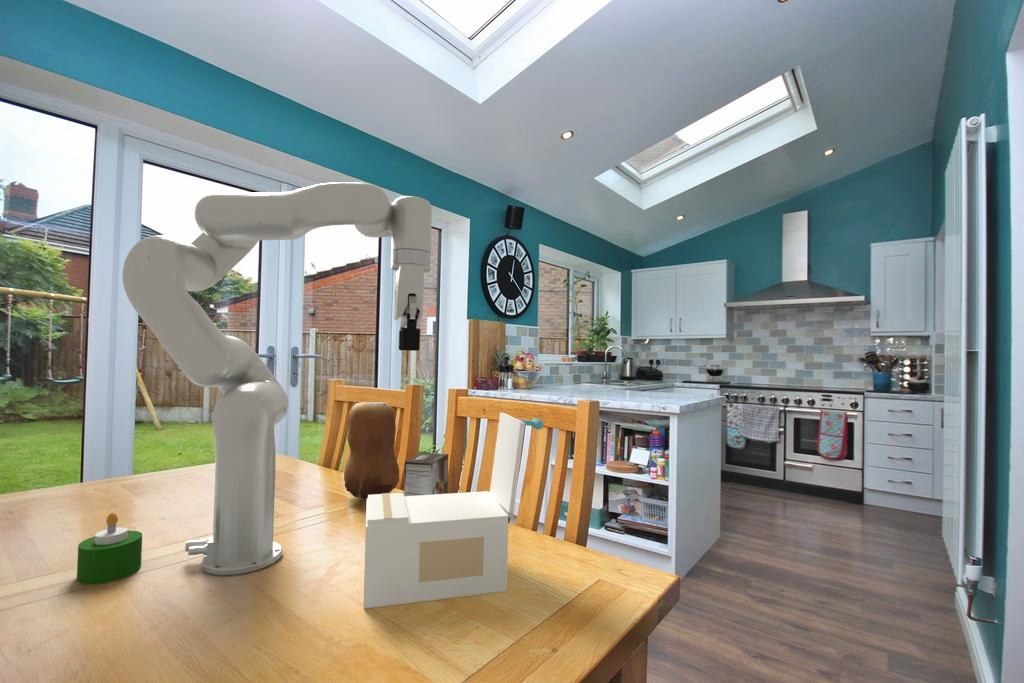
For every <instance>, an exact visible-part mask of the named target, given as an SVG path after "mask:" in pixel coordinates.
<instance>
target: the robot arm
mask: <svg viewBox="0 0 1024 683" xmlns="http://www.w3.org/2000/svg"><path fill="white" fill-rule="evenodd" d="M432 208H433V207H432V204H431V203H430V202H429V200H427V199H425V198H423V197H419V196H413V195H405V196H404V195H403V196H399V197H398V198H396V199H395V200H394V201H393V202H391V201H390V198H389V197H388V195H387V194H386V192H385V191H384V190H383V189H382V188H380V187H379V186H378V185H375V184H373V183H366V182H355V181H354V182H325V183H324V182H323V183H319V184H313V185H310V186H307V187H301V188H298V189H295V190H292V191H281V192H275V191H274V192H273V191H272V192H270V191H269V192H223V193H222V192H219V193H218V192H217V193H211V194H207V195H205V196H203V197H201V198H200V199H199V200H198V201H197V202H196V204H195V207H194V219H195V222H196V224H197V226H198V228H199V229H200V231H201V232H202V233H201V234H200V235H199V236H198V237H197V238H195V239H194V240H193V241H192V242H191V243H189V242H187V241H186V240H183V239H182V238H178V237H174V236H170V235H161V234H160V235H158V234H157V235H150V236H147V237H145V238H142V239H140V240H139V241H137V242H136V243H135V244H134V245H133V246H132V248H131V249H130V250H129V252H128V254H127V256H126V257H125V260H124V263H123V267H122V285H123V289H124V292H125V294H126V297H127V298H128V301H129V303H130V304H131V306H132V307H133V310H135V312H136V313H137V315H138V316H139V317H140V318H141V319H142V321H143V322H144V323H145V324H146V326H148V328H149V329H150V331H151V332H152V333H153V334H154V336H155V337H156V339H157V340H158V342H159V343H160V344H161V346H162V347H163V348H164V350H165V351H166V352H167V353H168V354H169V356H170V357H171V359H172V360H173V361H174V363H175V364H176V365H177V366H178V368H179V369H180V370H181V372H183V374H184V375H185V376H186V377H185V378H187V379H188V381H190V382H192V384H194V385H196V386H199V387H201V388H218V389H219V391H220V393H221V394H222V395H221V396H220V397H219V398H218V400H217V401H216V403H215V406H214V408H213V411H212V429H213V430H212V431H213V437H214V451H215V454H214V456H215V457H214V459H215V460H214V462H215V463H214V465H215V467H214V492H213V493H214V497H213V503H214V504H213V525H212V526H213V527H212V528H213V529H212V536H208V537H207V538H206V539H205V538H204V539H200V538H199V539H197V538H196V539H188V540H187V541H186V542H185V545H184V546H185V547H184V551H185V552H187V554H188V556H197V555H203V558H202V559H201V564H200V565H201V569H202V570H203V571H204V572H205V573H208V574H210V575H216V576H232V575H241V574H247V573H251V572H252V573H253V572H255V571H258V570H261V569H264V568H266V567H269V566H270V565H273V564H274V563H276V562H277V561H278V560H279V559H281V557H282V555H283V547H282V545H281V544H280V543H278V542H277V541H274V525H275V524H274V522H275V498H276V497H275V496H276V494H275V493H276V491H275V490H276V456H277V455H276V454H277V453H276V438H275V426H276V425H277V424H279V423H280V422H282V420H283V419H284V418H285V416H286V414H287V412H288V409H289V398H288V395H287V393H286V391H285V389H284V388H283V386H282V385H281V383H280V382H279V381H278V379H277V378H276V376H274V374H273V373H272V372H271V370H270V368H268V366H267V365H266V364H265V362H264V361H263V360H262V359H261V357H260V356H259V355H258V354H257V352H256V351H255V349H254V348H252V347H251V345H249V344H248V343H247V342H246V341H244V340H243V339H241V338H238V337H235V336H231V335H225V333H223V332H222V331H221V330H220V329H219V328H218V327H217V325H216V324H215V323H214V322H213V320H212V319H211V317H210V316H209V315H208V314H207V312H206V311H205V309H204V308H203V307H202V306H201V305H200V304H199V303H198V302H197V301H196V299H194V297H192V295H191V294H190V293H189V292H192V293H193V292H202V291H205V290H207V289H209V288H211V287H213V286H214V285H216V284H217V283H218V282H220V280H221V279H222V278H223V277H225V276H226V275H227V274H228V273H229V272H230V271H231V270H232V269H233V268H234V267H235V266H236V265H238V264H239V263H240V261H241V260H243V259H244V258H245V257H246V256H247V255H248V254H249V252H251V251H252V250H253V249H254V248H255V246H256V245H257V244H258V242H259V241H288V240H289V241H290V240H298V239H300V238H302V237H304V236H305V235H306V234H307V233H309V232H311V231H313V230H316V229H319V228H325V227H330V226H331V227H332V226H345V225H347V226H349V225H350V226H352V225H353V226H354V227H355V229H356V230H357V231H358V232H359V233H360V234H361V235H364V236H365V237H368V238H374V239H375V238H389V237H391V246H390V247H391V251H390V252H391V253H390V269H391V270H392V271H395V272H396V273H395V280H394V281H395V285H394V307H393V309H394V310H393V311H394V312H393V318H394V320H395V321H398V320H399V319H400V325H399V326H400V327H399V329H400V330H398V332H399V333H398V350H399V351H415V352H418V351H420V347H421V346H420V345H421V344H420V343H421V328H420V320H421V319H422V318H423V310H424V297H425V273H429V272H431V264H432V263H431V262H432V261H431V256H432V253H431V252H432V222H433V221H432V220H433V219H432V218H433V217H432V216H433V211H432Z"/></svg>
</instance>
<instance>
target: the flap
mask: <svg viewBox="0 0 1024 683" xmlns="http://www.w3.org/2000/svg"><path fill="white" fill-rule="evenodd" d="M525 426H528V427H532V428H533V429H536V430H539V431H540V430H542V429H543V428H544V421H543V420H542V419H540V418H537V417H536V418H535V417H534V418H533V419H531V420H527V419H518V418H516V417H513V416H512V415H509V414H508V413H506V412H499V418H498V427H497V433H496V434H497V435H496V442H495V449H494V455H493V456H494V457H493V464H492V473H491V479H490V485H489V486H490V488H489V491H488V492H489V493H490V494H491V495H492V497H493V498H494V499H495V500H496V501H497V503H498V504H499V505H500V506H501V507H502V509H503V510H504V511H505V512H506V514H507V515H508V519H512V518H514V517H515V507H516V498H517V491H518V490H517V489H518V481H519V474H520V466H521V459H522V451H523V444H524V443H523V442H524V434H525Z"/></svg>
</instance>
